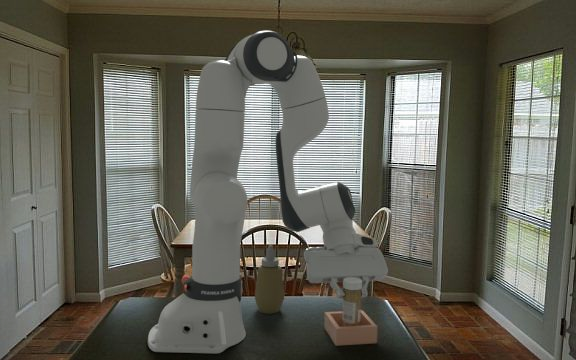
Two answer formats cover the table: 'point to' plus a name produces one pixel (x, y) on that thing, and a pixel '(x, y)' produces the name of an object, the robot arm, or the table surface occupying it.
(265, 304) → the squeeze bottle
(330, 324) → the terracotta socket
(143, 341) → the table surface
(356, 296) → the sprinkles bottle
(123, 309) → the table surface
